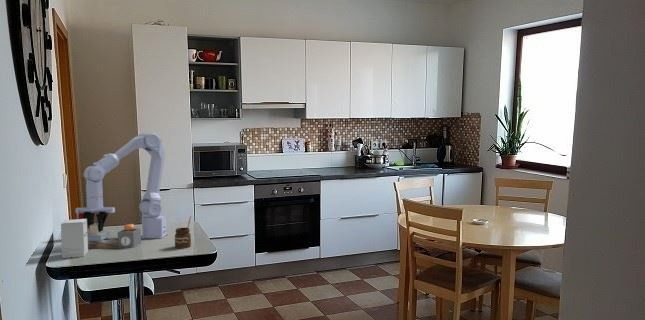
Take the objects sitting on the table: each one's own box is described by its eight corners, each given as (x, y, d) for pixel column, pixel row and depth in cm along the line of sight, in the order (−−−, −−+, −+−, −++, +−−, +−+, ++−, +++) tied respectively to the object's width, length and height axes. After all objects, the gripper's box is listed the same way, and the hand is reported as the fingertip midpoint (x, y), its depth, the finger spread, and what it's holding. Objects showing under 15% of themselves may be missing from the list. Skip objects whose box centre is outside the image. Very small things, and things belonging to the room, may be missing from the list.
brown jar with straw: (176, 245, 181) (175, 214, 181) (193, 244, 182) (192, 214, 181) (173, 248, 175) (172, 217, 175) (190, 248, 176) (189, 217, 175)
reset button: (135, 229, 183) (135, 224, 183) (132, 231, 180) (131, 225, 179) (126, 229, 183) (126, 224, 183) (122, 231, 180) (122, 225, 179)
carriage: (109, 236, 185) (108, 222, 185) (101, 240, 178) (100, 226, 178) (91, 236, 185) (91, 222, 185) (82, 240, 178) (82, 226, 178)
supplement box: (84, 256, 165) (83, 221, 165) (61, 258, 163) (59, 223, 162) (88, 251, 172) (87, 218, 172) (66, 253, 170) (65, 219, 170)
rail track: (126, 243, 186) (126, 231, 185) (117, 247, 178) (117, 236, 177) (84, 243, 186) (83, 232, 185) (73, 248, 178) (73, 236, 177)
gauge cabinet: (140, 243, 185) (140, 228, 185) (133, 247, 178) (132, 232, 177) (125, 243, 185) (125, 228, 185) (117, 247, 178) (117, 232, 177)
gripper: (70, 198, 177) (72, 233, 177) (108, 198, 176) (109, 233, 177) (80, 195, 184) (81, 229, 184) (116, 195, 184) (118, 229, 184)
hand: (96, 231), depth 181 cm, fingers closed on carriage, 3 cm apart
